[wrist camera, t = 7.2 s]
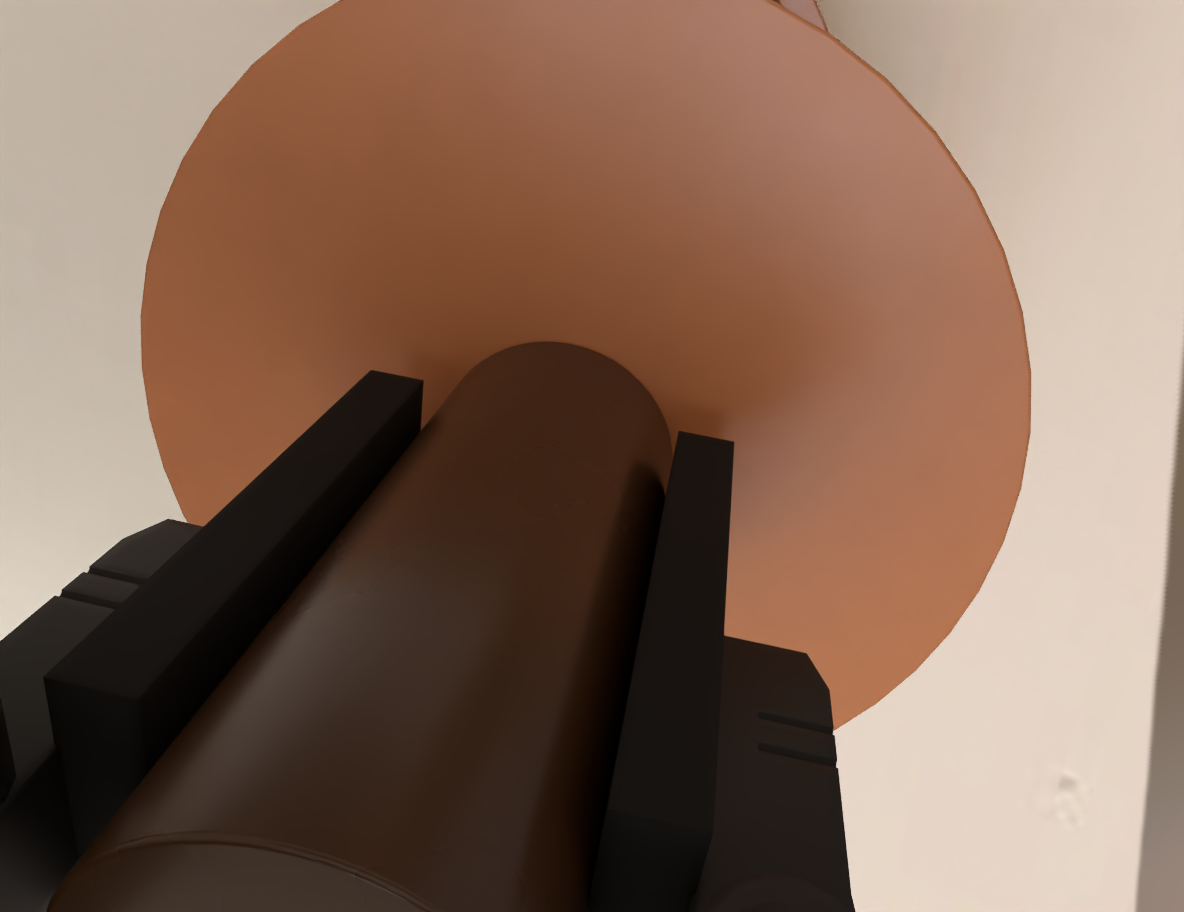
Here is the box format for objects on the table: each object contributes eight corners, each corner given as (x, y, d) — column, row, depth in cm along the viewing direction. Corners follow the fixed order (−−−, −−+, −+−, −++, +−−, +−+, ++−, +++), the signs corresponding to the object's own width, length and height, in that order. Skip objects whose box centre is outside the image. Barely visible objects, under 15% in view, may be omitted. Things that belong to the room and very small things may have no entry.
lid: (65, 444, 17) (-725, 939, 8) (468, -306, 11) (-801, -1689, 2) (628, 842, 19) (514, 1589, 10) (1218, 391, 13) (2211, 1215, 4)
